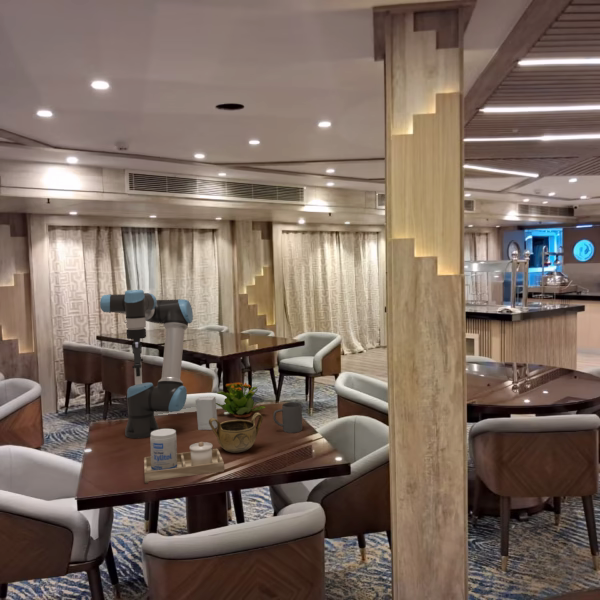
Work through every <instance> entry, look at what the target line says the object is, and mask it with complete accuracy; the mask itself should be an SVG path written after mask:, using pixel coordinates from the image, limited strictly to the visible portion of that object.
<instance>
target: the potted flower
mask: <svg viewBox="0 0 600 600" xmlns="http://www.w3.org/2000/svg"><path fill="white" fill-rule="evenodd" d="M225 387H226V388H227V389H226V390H227V391H228V392H225V391H223V390H220V391H217V395H221V396H224V397H225V398H224V400H223V402H224V403H223V404H221V403H217V402H216V406H219V407H220V408H222V410H223V411H225V412H227V413H229V414H231V415H232V416H233V417H234V418H239V419H240V418H241V419H242V418H247V417H248V418H249V417H250V416H251V417H252V414H253V412H257V411H260V410H263V409H266V408H267V406H266V407H265V406H261V405H260V406H256V405H257V404H258V402H256V403H255V401H254V400H255V398H253V397H254V395H255V393H256V392H257V391H258V387H257V386H253V387H252V386H251V385H250V384H248V383H247V382H244V384H243V382H238V381H237V382H233V383H232V382H230V383H226V384H225ZM249 388H250V389H249ZM242 389H243V390H242ZM248 389H249V391H247V390H248ZM246 392H247V393H246ZM255 406H256V407H255Z"/></svg>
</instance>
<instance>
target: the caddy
mask: <svg viewBox="0 0 600 600" xmlns="http://www.w3.org/2000/svg"><path fill="white" fill-rule="evenodd" d="M143 462H144V463H143V465H144V466H143V467H144V470H143V471H144V484H145V485H146V484H149V482H152V481H161V480H167V479H175V478H183V477H191V476H198V475H206V474H216V473H221V472H225V463H224V459H223V457H222V455H221V453H220V451H219V448H212V463H211V464H204V465H196V466H191V451H186V452H185V451H184V452H179V453H178V452H177V468H172V469H164V470H156V471H152V470H151V456H145V457H143Z"/></svg>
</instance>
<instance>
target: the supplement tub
mask: <svg viewBox="0 0 600 600" xmlns="http://www.w3.org/2000/svg"><path fill="white" fill-rule="evenodd" d="M149 438H150V439H149V440H150V441H149V442H150V443H149V444H150V457H151V470H152V471H156V470H164V469H172V468H177V453H178V445H177V441H178V440H177V430H176V429H173V428H159V430H155V431H153V432H151V436H150V437H149Z"/></svg>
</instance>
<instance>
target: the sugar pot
mask: <svg viewBox="0 0 600 600" xmlns="http://www.w3.org/2000/svg"><path fill="white" fill-rule="evenodd" d="M212 449H213V443H211V442H207V441H199V442H196V443H192V444H190V445H189V450H190V452H191V466H196V465H204V464H211V463H212Z"/></svg>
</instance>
